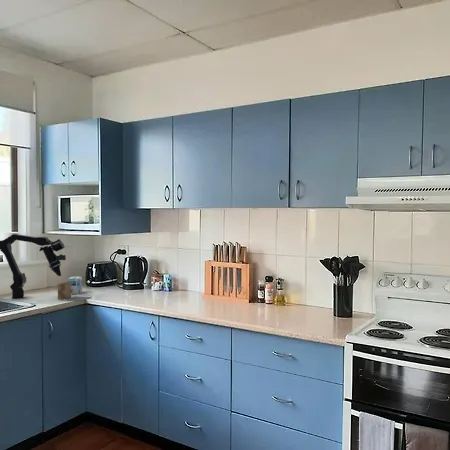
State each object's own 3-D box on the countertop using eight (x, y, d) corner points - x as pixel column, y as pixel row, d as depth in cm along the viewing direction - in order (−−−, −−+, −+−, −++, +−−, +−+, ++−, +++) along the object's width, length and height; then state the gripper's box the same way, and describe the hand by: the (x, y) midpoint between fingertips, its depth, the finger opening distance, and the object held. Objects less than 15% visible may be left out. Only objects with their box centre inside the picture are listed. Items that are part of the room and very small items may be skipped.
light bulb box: (77, 294, 309) (77, 278, 309) (67, 294, 309) (67, 278, 309) (82, 291, 320) (82, 276, 319) (73, 291, 320) (72, 276, 320)
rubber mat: (64, 300, 287) (64, 300, 287) (74, 297, 299) (74, 296, 299) (82, 301, 285) (82, 300, 285) (91, 297, 296) (91, 296, 296)
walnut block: (57, 299, 291) (57, 284, 291) (63, 297, 297) (62, 282, 297) (66, 299, 290) (66, 284, 290) (71, 298, 296) (71, 282, 296)
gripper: (62, 248, 295) (73, 270, 296) (60, 250, 312) (70, 271, 313) (45, 255, 291) (56, 277, 291) (44, 257, 308) (54, 278, 308)
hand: (60, 275), depth 301 cm, fingers open, 9 cm apart
